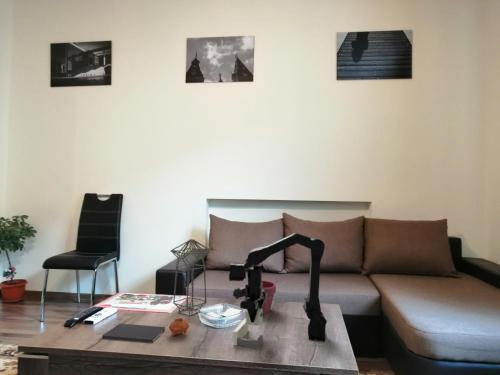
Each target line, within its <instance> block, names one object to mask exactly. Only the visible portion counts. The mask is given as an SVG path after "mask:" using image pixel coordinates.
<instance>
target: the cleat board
mask: <svg viewBox="0 0 500 375" xmlns="http://www.w3.org/2000/svg"><path fill="white" fill-rule="evenodd" d="M249 325H250V324H246V317H245V318H244V319H243V320H242V321H241V323H239V324H238V325H237V327H236V328H235V329H234V330H233V331H232V333H233V334H232V339H233V340H232V344H233V345H232V346H238V347H243V348H245V347H246V348H252V349H256V350H257V349H259V348H260V347H261V345H262V344H263V342H264V337H263V336H264V335H261V334H260V335H259V336H258V338H257V339H250V338H244V337H245V336H246V334H248V332H249Z"/></svg>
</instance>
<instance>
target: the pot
mask: <svg viewBox="0 0 500 375" xmlns="http://www.w3.org/2000/svg"><path fill="white" fill-rule="evenodd" d="M189 326H190V324H189V323H188V322H187V321H186V320H185V319H184V318H181V317H178V318H175V319H174V320H172V321H171V323H170V324H169V326H168V328H169V331H170V332H171V336H172V337H175V335H176V334H177V335H181V334H184V336H186V335H187V332H188V329H189Z"/></svg>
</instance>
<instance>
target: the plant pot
mask: <svg viewBox="0 0 500 375" xmlns="http://www.w3.org/2000/svg"><path fill="white" fill-rule="evenodd" d="M262 283H263V286H262V289H264V290H266V291H267V297H266V298H264V296H262V299H265V301H264V304H263V306H262V308H261V309H263V314H265V313H266V314H267V313H269V312H270V311H271V310H272V309H271V308H272V304H273V300H274V295H275V294H276V292H277V285H276V283H275V282H273V281H268V280H262Z"/></svg>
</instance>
